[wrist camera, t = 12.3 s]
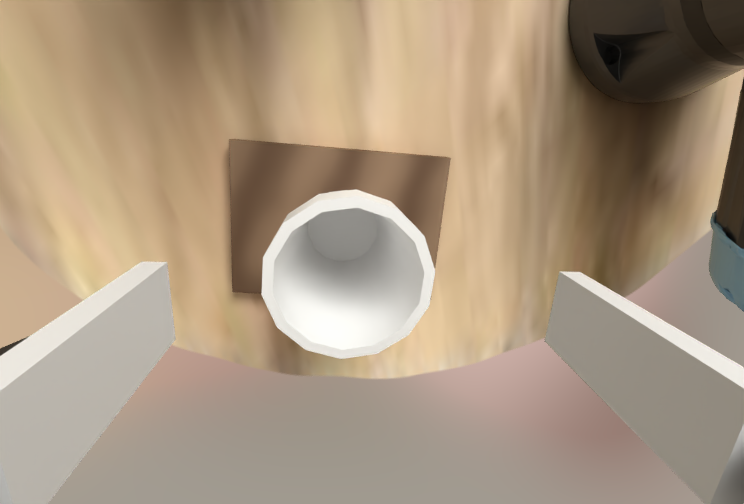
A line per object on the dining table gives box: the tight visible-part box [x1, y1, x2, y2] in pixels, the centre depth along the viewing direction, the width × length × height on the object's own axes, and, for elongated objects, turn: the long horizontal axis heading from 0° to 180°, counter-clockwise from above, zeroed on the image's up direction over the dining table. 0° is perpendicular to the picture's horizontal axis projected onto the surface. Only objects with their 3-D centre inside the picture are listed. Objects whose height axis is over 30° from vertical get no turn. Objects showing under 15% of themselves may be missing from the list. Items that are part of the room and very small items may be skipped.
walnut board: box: [229, 139, 451, 300], centre depth 34 cm, size 18×13×2 cm
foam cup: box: [261, 189, 435, 359], centre depth 27 cm, size 10×9×13 cm
